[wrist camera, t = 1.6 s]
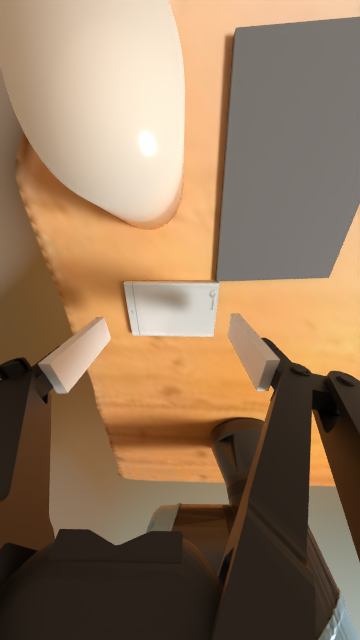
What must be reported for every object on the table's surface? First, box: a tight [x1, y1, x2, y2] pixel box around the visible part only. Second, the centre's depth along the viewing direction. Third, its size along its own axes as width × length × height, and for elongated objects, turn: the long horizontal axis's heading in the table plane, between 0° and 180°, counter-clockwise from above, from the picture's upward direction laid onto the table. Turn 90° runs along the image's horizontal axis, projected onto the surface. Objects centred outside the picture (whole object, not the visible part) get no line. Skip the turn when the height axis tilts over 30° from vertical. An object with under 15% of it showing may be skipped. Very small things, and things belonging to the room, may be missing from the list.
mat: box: [216, 17, 360, 281], centre depth 14 cm, size 18×14×1 cm
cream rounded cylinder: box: [0, 0, 185, 230], centre depth 10 cm, size 8×8×9 cm
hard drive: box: [124, 281, 220, 337], centre depth 20 cm, size 2×8×12 cm
